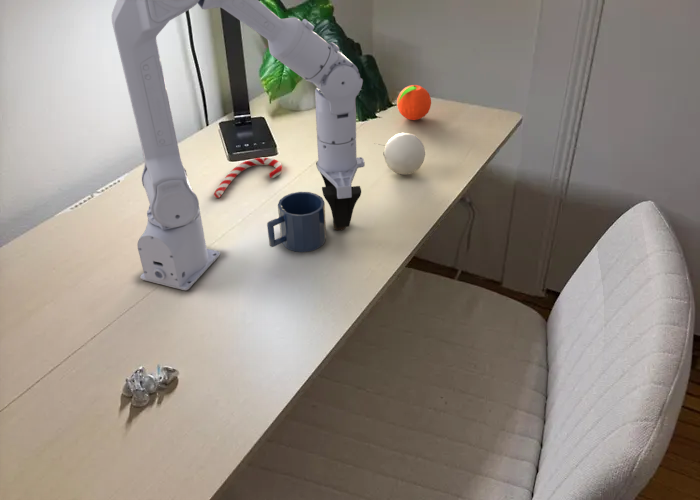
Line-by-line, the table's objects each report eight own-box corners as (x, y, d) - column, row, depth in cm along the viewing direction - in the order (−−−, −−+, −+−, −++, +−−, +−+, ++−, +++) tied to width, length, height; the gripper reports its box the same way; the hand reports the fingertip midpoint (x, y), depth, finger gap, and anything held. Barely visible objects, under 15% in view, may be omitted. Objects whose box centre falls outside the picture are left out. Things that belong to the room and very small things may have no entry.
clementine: (409, 130, 135) (410, 96, 131) (385, 119, 140) (386, 86, 135) (437, 118, 139) (439, 85, 135) (413, 108, 144) (414, 76, 140)
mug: (308, 221, 109) (306, 186, 105) (334, 240, 105) (333, 204, 101) (258, 243, 104) (254, 208, 101) (283, 264, 100) (280, 228, 96)
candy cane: (200, 187, 116) (255, 152, 126) (201, 194, 117) (256, 158, 127) (235, 199, 113) (289, 162, 123) (236, 206, 113) (289, 168, 123)
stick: (343, 231, 107) (342, 193, 103) (331, 229, 107) (329, 191, 103) (347, 224, 108) (346, 187, 104) (336, 222, 109) (334, 184, 105)
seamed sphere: (433, 171, 122) (435, 134, 117) (405, 186, 118) (406, 148, 113) (392, 153, 128) (393, 117, 123) (364, 167, 123) (364, 130, 119)
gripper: (372, 156, 93) (372, 237, 101) (355, 112, 105) (357, 188, 113) (321, 160, 92) (325, 242, 100) (310, 116, 104) (314, 192, 112)
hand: (339, 214), depth 106 cm, fingers open, 6 cm apart
